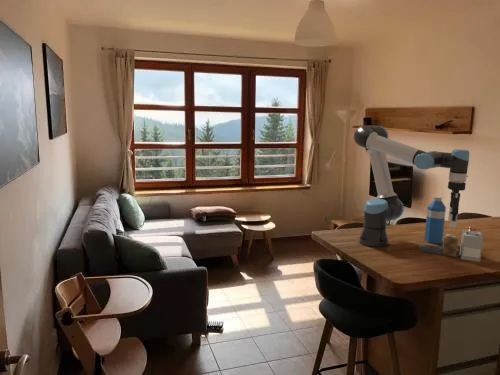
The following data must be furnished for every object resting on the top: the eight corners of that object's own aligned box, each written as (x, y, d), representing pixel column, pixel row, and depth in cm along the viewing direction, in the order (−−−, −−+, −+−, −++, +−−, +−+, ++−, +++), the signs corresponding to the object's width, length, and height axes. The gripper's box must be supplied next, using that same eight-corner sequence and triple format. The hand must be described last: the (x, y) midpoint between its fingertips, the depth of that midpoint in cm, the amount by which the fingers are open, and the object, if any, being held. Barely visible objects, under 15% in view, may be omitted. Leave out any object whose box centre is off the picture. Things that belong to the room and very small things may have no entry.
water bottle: (444, 244, 217) (449, 199, 212) (426, 243, 219) (430, 198, 214) (440, 239, 226) (444, 195, 221) (422, 238, 228) (426, 195, 223)
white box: (461, 259, 194) (464, 235, 192) (459, 253, 203) (462, 230, 201) (480, 262, 191) (483, 237, 188) (477, 255, 200) (480, 232, 198)
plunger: (467, 239, 194) (468, 227, 193) (466, 237, 198) (467, 225, 197) (477, 240, 193) (478, 228, 191) (476, 238, 196) (477, 226, 195)
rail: (419, 252, 204) (419, 246, 203) (419, 249, 208) (419, 243, 208) (458, 257, 197) (459, 251, 196) (457, 254, 201) (458, 248, 201)
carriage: (442, 255, 199) (444, 236, 197) (442, 250, 205) (443, 232, 203) (456, 257, 196) (458, 238, 194) (455, 252, 203) (457, 234, 201)
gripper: (468, 186, 181) (462, 231, 185) (463, 178, 204) (458, 218, 208) (449, 184, 184) (444, 229, 188) (447, 177, 207) (442, 216, 211)
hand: (451, 223), depth 198 cm, fingers open, 13 cm apart
